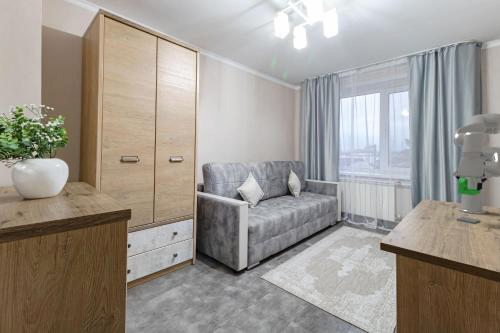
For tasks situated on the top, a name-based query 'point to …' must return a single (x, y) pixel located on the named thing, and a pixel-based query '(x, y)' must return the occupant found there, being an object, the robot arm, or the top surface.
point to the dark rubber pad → (468, 220)
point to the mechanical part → (466, 188)
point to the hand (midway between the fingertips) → (470, 188)
